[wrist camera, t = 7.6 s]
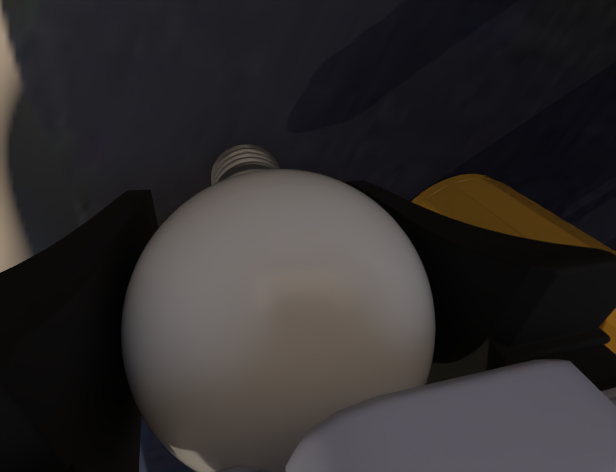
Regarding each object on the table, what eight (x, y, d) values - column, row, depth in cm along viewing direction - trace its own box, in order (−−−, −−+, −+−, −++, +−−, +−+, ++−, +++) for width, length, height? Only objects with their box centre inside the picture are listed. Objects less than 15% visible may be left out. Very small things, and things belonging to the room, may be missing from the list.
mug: (387, 190, 17) (522, 328, 10) (524, 160, 18) (729, 263, 11) (378, 324, 23) (455, 464, 16) (479, 295, 25) (590, 413, 18)
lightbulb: (180, 56, 11) (108, 295, 2) (343, 122, 13) (602, 344, 5) (146, 218, 14) (57, 601, 5) (286, 245, 16) (386, 521, 8)
